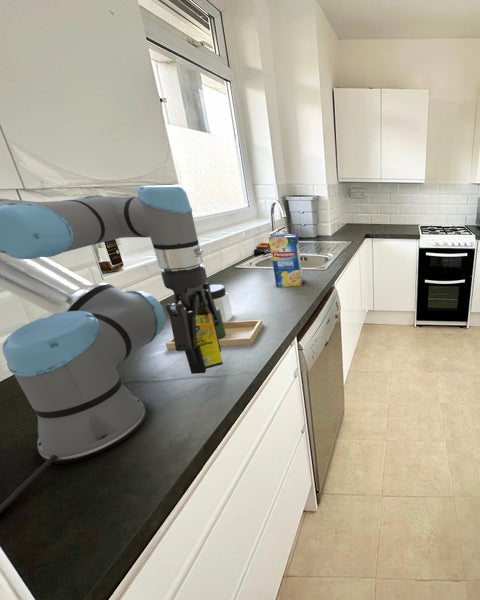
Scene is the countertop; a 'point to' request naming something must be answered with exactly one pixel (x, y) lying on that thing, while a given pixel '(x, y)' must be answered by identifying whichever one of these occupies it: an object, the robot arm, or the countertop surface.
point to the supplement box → (208, 341)
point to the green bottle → (220, 326)
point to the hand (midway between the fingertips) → (207, 361)
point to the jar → (221, 301)
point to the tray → (234, 333)
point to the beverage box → (286, 259)
